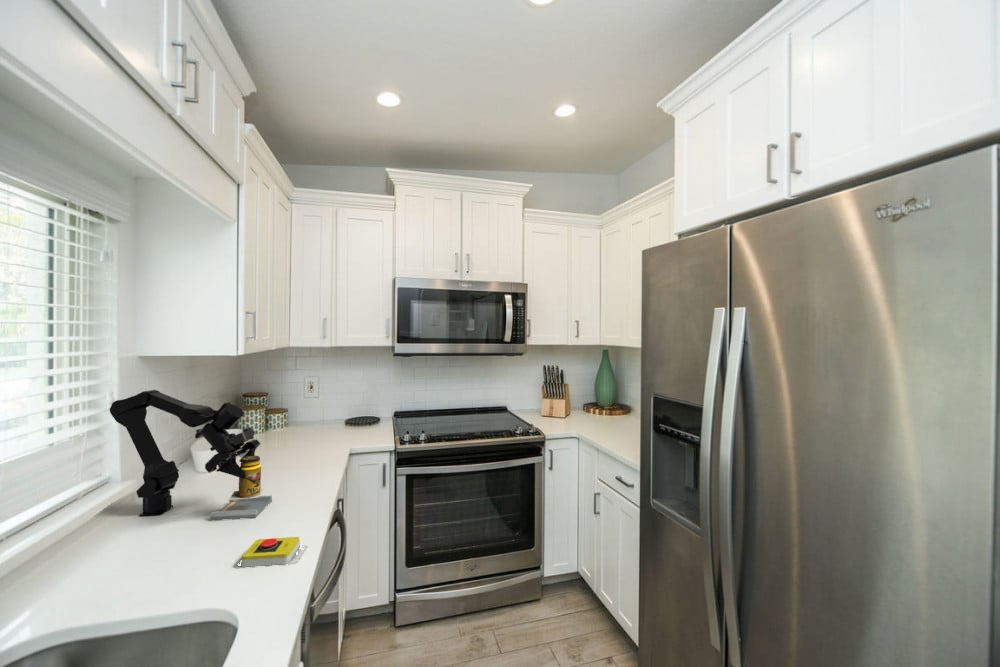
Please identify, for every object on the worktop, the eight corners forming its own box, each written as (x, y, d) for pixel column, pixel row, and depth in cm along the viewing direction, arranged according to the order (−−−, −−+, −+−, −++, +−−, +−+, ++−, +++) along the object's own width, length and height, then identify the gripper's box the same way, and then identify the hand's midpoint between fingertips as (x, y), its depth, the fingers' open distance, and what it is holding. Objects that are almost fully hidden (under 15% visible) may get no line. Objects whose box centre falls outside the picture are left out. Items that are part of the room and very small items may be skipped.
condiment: (259, 497, 130) (260, 459, 131) (228, 500, 127) (229, 461, 128) (263, 489, 137) (264, 453, 137) (233, 492, 134) (235, 455, 134)
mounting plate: (210, 520, 128) (210, 516, 128) (231, 503, 141) (231, 500, 141) (255, 518, 130) (255, 514, 130) (272, 501, 143) (272, 497, 143)
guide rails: (211, 517, 129) (211, 513, 129) (231, 501, 141) (231, 497, 141) (255, 514, 130) (255, 510, 130) (271, 498, 143) (271, 495, 143)
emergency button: (250, 534, 112) (309, 531, 114) (250, 550, 112) (309, 547, 114) (233, 553, 102) (297, 548, 104) (233, 570, 102) (297, 566, 104)
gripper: (215, 428, 123) (249, 466, 123) (255, 415, 142) (285, 449, 141) (189, 453, 124) (223, 491, 123) (233, 437, 143) (263, 470, 142)
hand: (251, 474), depth 133 cm, fingers closed on condiment, 6 cm apart
